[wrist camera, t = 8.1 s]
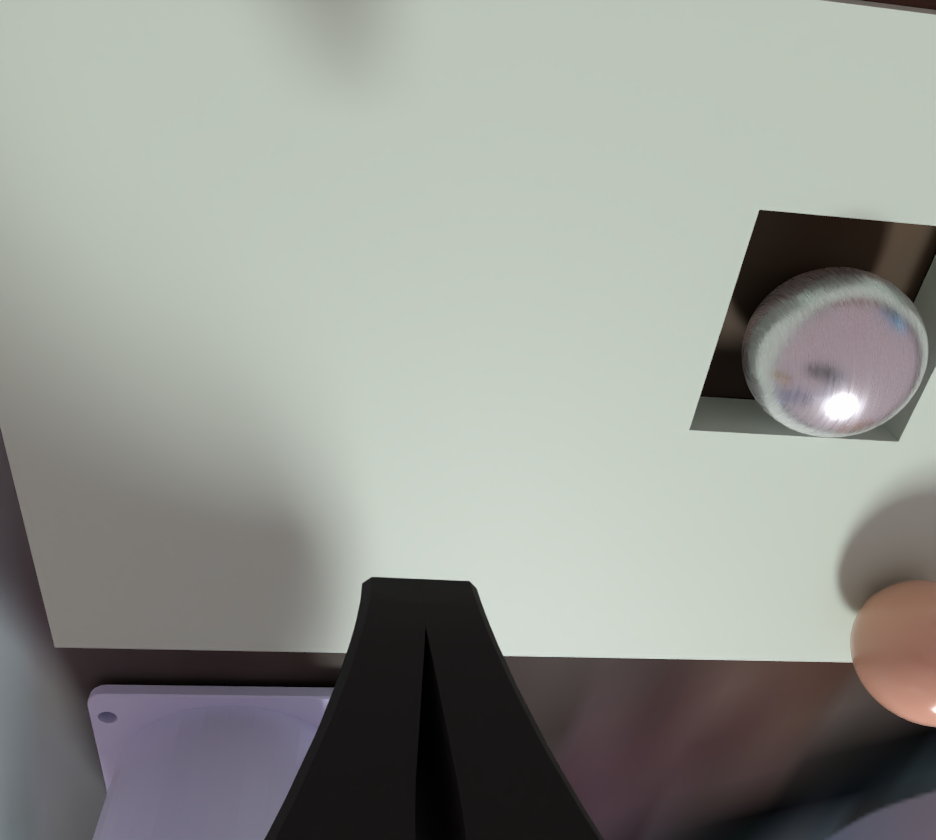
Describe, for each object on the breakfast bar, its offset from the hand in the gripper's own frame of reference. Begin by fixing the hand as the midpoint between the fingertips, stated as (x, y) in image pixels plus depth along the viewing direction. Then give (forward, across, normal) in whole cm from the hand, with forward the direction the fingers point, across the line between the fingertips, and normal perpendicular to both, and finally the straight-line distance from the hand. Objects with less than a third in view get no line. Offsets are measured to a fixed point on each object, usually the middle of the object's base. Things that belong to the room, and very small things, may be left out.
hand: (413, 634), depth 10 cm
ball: (+5, -13, +6) cm, 16 cm away
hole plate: (+9, -4, +1) cm, 10 cm away
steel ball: (+7, -9, -1) cm, 11 cm away
